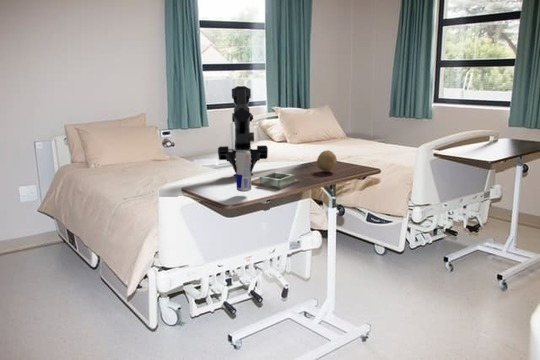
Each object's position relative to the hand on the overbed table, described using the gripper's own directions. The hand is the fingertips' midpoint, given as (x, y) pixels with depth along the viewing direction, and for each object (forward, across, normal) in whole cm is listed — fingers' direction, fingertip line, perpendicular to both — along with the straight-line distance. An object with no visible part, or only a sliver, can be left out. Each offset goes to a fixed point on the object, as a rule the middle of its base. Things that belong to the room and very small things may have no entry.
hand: (243, 171), depth 180 cm
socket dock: (-7, +13, +21) cm, 25 cm away
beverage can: (+5, 0, +6) cm, 8 cm away
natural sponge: (-18, +38, +33) cm, 54 cm away
